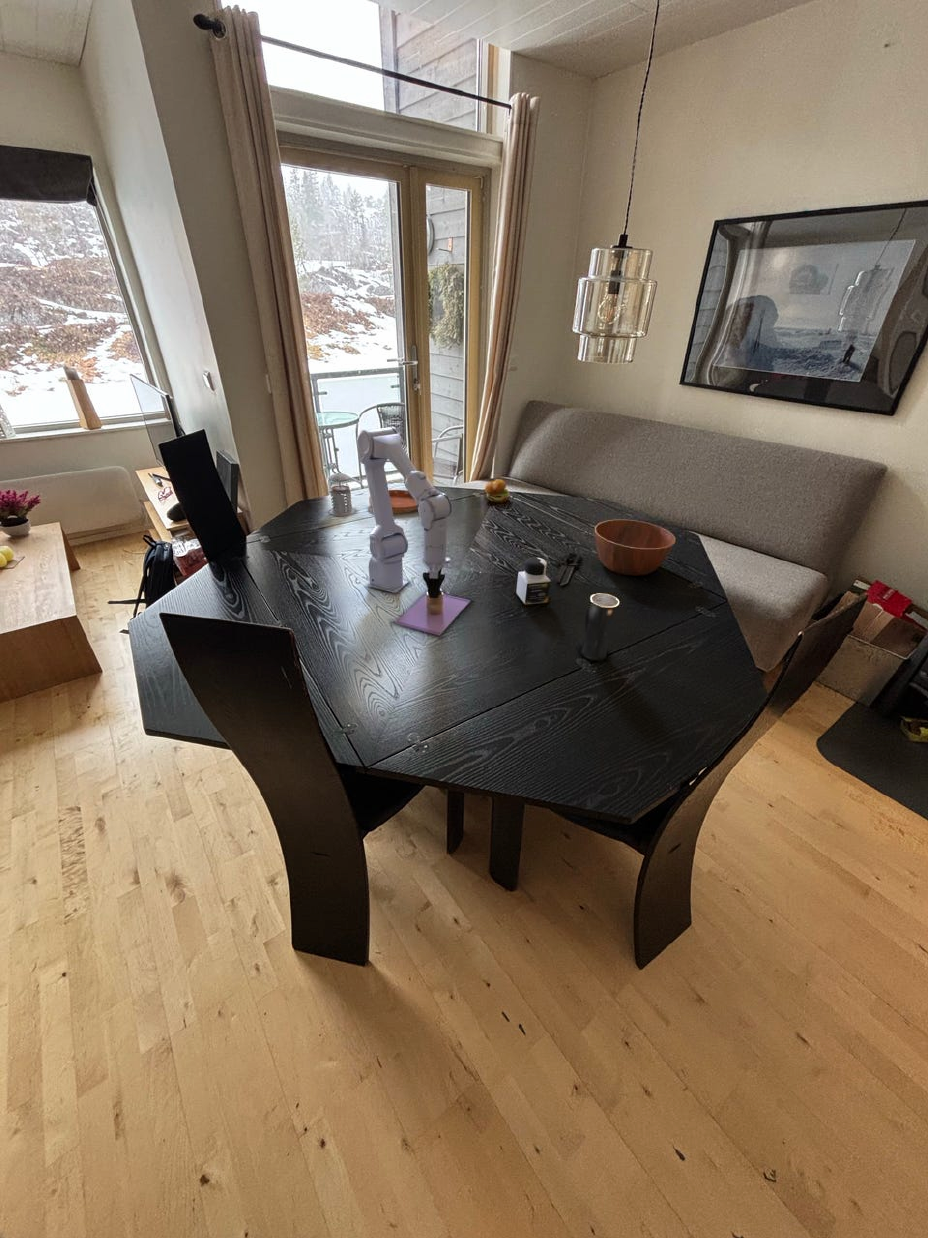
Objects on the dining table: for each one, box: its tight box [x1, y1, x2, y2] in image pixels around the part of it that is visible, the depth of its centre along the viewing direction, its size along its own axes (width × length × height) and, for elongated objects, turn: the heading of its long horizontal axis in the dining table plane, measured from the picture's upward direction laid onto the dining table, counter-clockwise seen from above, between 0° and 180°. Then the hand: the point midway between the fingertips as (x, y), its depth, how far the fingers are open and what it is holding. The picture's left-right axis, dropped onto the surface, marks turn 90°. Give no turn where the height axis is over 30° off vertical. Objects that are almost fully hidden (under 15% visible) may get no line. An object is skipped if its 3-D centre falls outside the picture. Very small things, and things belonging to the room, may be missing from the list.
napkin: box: [394, 593, 471, 637], centre depth 136 cm, size 13×20×1 cm, turn 156°
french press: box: [327, 447, 356, 517], centre depth 193 cm, size 10×12×25 cm
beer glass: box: [580, 593, 620, 662], centre depth 118 cm, size 7×7×15 cm
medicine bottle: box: [515, 557, 551, 606], centre depth 142 cm, size 7×7×12 cm
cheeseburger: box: [484, 478, 510, 504], centre depth 217 cm, size 10×11×10 cm
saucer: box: [368, 489, 419, 514], centre depth 207 cm, size 23×23×4 cm
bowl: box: [594, 519, 676, 577], centre depth 163 cm, size 25×25×11 cm
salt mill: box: [426, 587, 444, 615], centre depth 134 cm, size 4×4×8 cm
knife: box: [554, 551, 581, 586], centre depth 161 cm, size 25×6×1 cm, turn 154°
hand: (434, 590), depth 133 cm, fingers open, 7 cm apart
